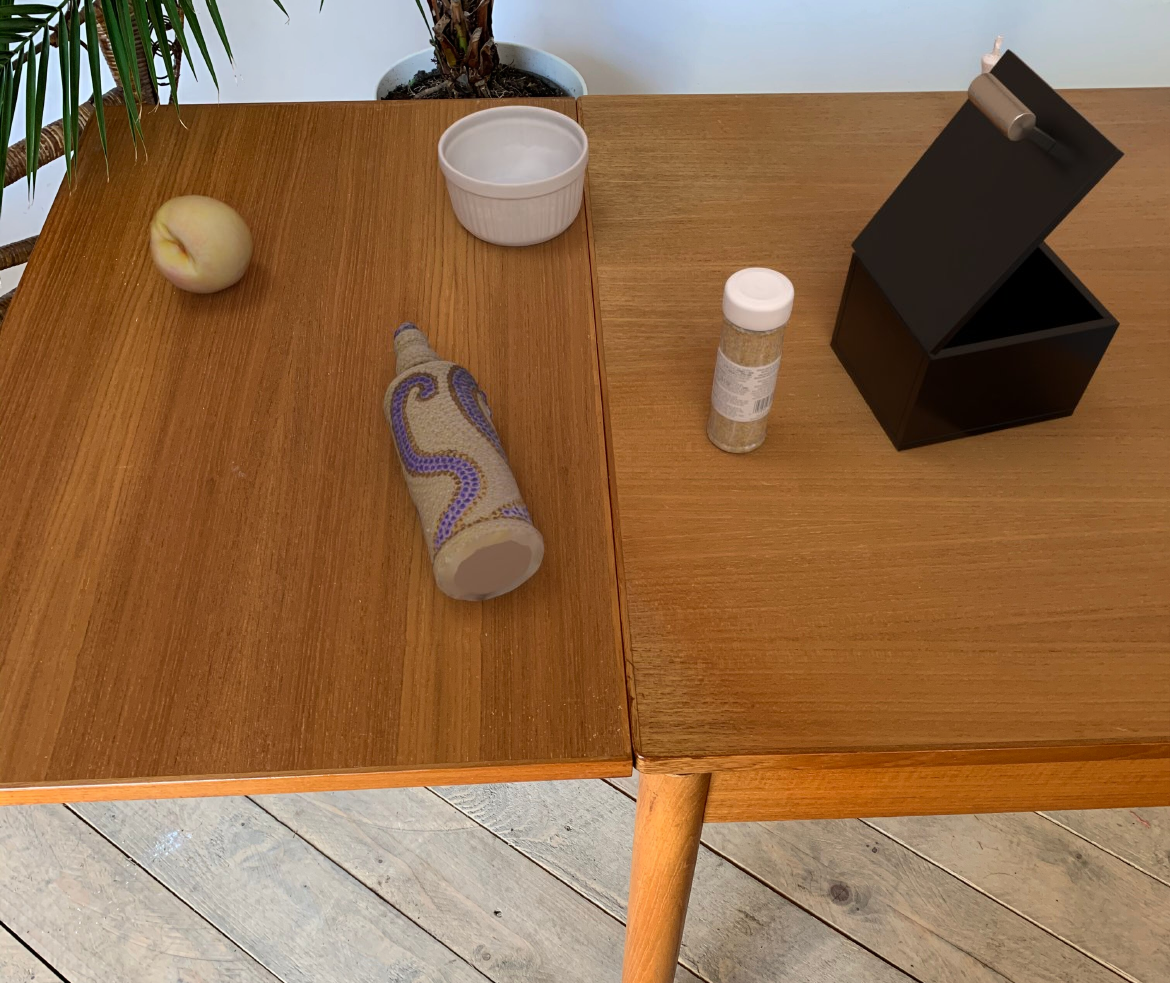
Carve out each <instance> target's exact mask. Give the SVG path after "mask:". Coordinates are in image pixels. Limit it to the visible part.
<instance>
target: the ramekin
mask: <svg viewBox="0 0 1170 983" xmlns="http://www.w3.org/2000/svg"><path fill="white" fill-rule="evenodd" d="M589 149H590V148H589V139H588V135H587V134H586V132H585V130H584V129H583V128H582V126H581V125H580V124H579V123H578V122H577V121H575V120H574V119H573V118H571V117H569V116H568V115H566V114H563V113H561V112H559V111H556V110H553V109H549V108H546V107H540V106H532V105H505V106H504V105H503V106H497V107H491V108H486V109H482V110H479V111H476V112H473V113H470V114H468V115H466V116H464V117H462V118H460V119H458V120H456V121H455V122H454V123H452V124H451V125H450V126H449V127H448V128H446V129H445V131H444V132H443V133H442V134H441V136H440V138H439V141H438V145H437V157H438V165H439V168H440V170H441V172H442V174H443V175H444V178H445V182H446V187H447V190H448V194H449V198H450V202H451V206H452V209H453V212H454V214H455V216H456V218H457V220H458V221H459V223H460V224H461V226H462V227H464V228H465V229H466V230H467V231H468V232H469V233H470V234H472V235H473V236H474V237H476V238H477V239H479V240H482V241H484V242H486V243H489V244H493V245H497V246H503V247H526V246H533V245H538V244H542V243H545V242H547V241H550V240H552V239H554V238H556V237H558V236H560V235H561V234H563V233H564V232H565V231H566V230H567V229H568V228H569V227H570V225H571V224H572V223H573V222H574V221H575V219H576V218H577V216H578V214H579V212H580V210H581V206H582V199H583V193H584V186H585V175H586V168H587V166H588V162H589V157H590V155H589V154H590V153H589V151H590V150H589Z"/></svg>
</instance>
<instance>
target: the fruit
mask: <svg viewBox="0 0 1170 983" xmlns="http://www.w3.org/2000/svg"><path fill="white" fill-rule="evenodd" d="M155 213H156V214H155V215H154V217H153V219H152V221H151V224H150V229H149V253H150V256H151V260H152V263H153V265H154V267H155V268H156V270H157V271H158V272H159V273H160V275H162V277H163V278H164V279H165V280H166V281H167V282H169V283H170V284H171V285H173V286H175V287H176V288H177V289H180V290H183V291H186V292H189V293H193V294H214V293H217V292H221V291H223V290H225V289H228V288H230V287H233V286H234V285H236V284H237V283H238V282H239V281H241V279H242V278H243V277H244V275H245V273H246V272H247V270H248V268H249V266H250V263H251V261H252V260H251V259H252V256H253V252H254V240H253V236H252V233H251V230H250V228H249V226H248V224H247V223H246V221H245V219H244V218H243V216H241V215H240V213H239V212H238V211H237V210H235V209H234V208H233V207H231V206H230V205H228V204H227V203H225V202H223V201H221V200H219V199H217V198H214V197H210V196H205V195H201V194H188V195H181V196H175V197H173V198H169V200H167V201H165V202H164V203H163V204H161V205H160V207H159V208H158V210H157V211H156V212H155Z"/></svg>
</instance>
